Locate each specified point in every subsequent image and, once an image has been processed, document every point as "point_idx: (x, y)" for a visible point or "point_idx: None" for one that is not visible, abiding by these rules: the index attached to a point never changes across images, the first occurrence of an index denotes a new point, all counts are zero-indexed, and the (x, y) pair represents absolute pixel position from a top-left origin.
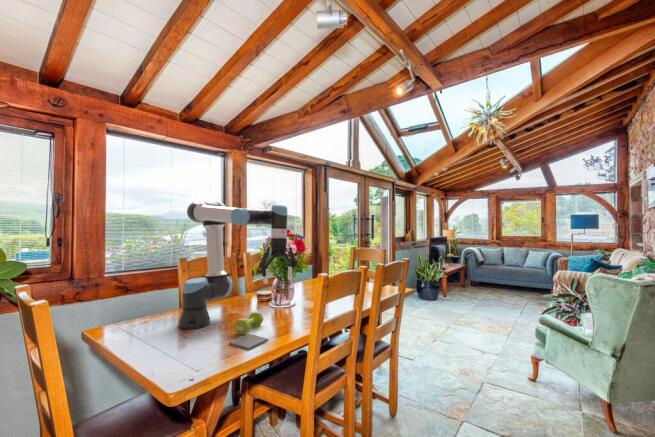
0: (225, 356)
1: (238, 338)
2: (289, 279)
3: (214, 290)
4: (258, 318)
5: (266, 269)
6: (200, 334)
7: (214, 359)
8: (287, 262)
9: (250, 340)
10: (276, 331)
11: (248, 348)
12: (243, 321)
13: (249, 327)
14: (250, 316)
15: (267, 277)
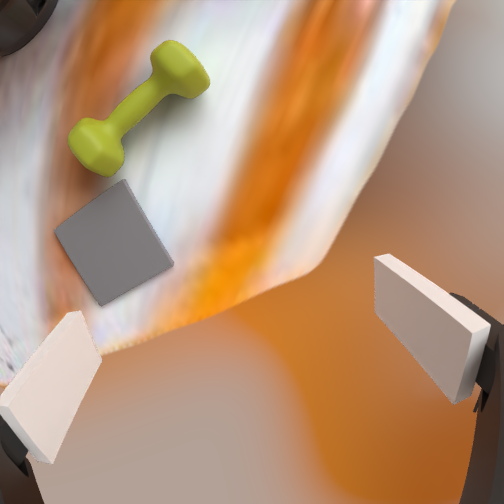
0: (48, 309)
1: (81, 213)
2: (378, 292)
3: None
4: (180, 92)
5: (33, 449)
6: (6, 107)
7: (29, 311)
8: (494, 410)
9: (113, 251)
10: (236, 182)
11: (101, 304)
12: (86, 167)
13: (120, 166)
14: (152, 63)
15: (79, 399)
